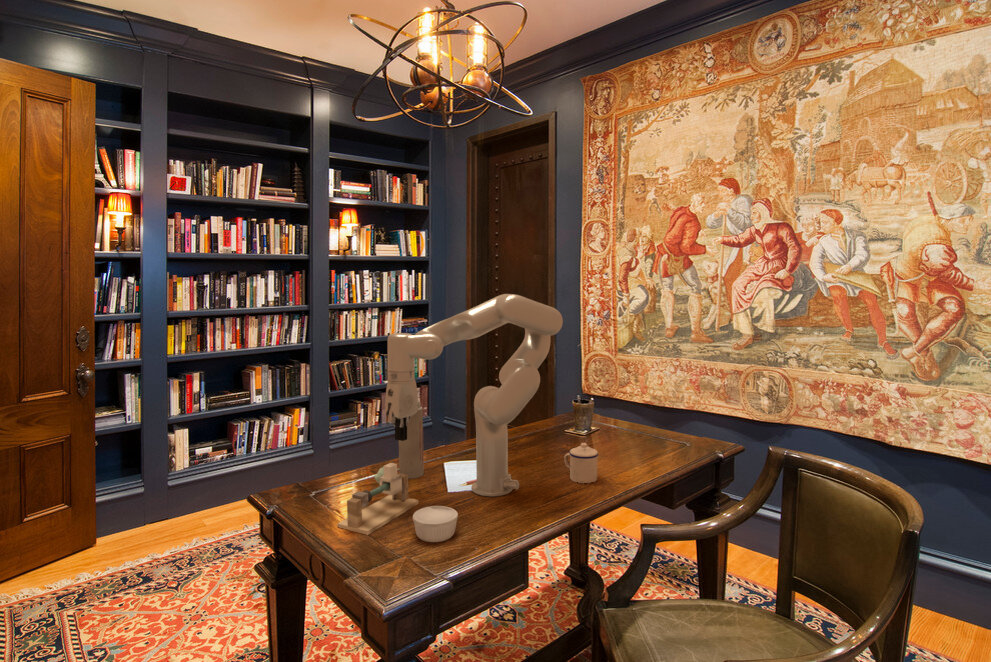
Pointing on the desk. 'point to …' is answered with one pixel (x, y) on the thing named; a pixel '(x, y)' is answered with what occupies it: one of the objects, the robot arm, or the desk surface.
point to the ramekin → (435, 523)
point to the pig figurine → (379, 475)
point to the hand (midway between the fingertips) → (401, 439)
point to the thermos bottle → (412, 447)
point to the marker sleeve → (391, 479)
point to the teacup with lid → (582, 464)
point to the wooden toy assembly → (376, 508)
